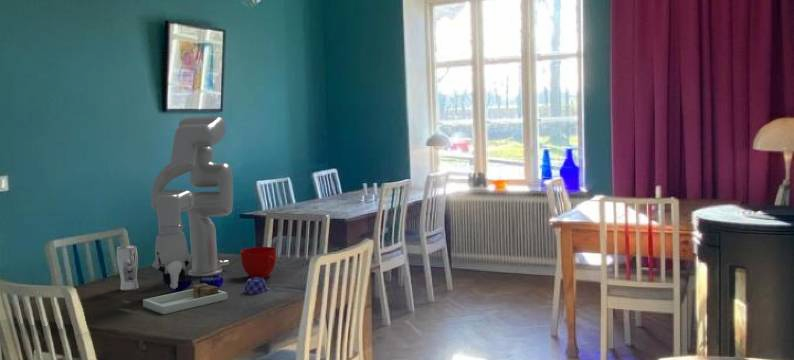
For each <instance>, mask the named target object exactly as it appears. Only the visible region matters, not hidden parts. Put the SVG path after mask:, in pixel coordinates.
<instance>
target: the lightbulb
mask: <svg viewBox="0 0 794 360" xmlns="http://www.w3.org/2000/svg"><path fill="white" fill-rule="evenodd" d="M163 268H165V266H163ZM181 269H182V263H181V262H180V261H173V262H172V263H171V264H168V265H167V271H168V273H169V274H170V282H171V284H170V285H169V287H170V288H171V289H172V290H176V288H178V286H179V279H178V278H179V273H180V271H181Z"/></svg>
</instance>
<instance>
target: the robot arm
mask: <svg viewBox="0 0 794 360" xmlns="http://www.w3.org/2000/svg"><path fill="white" fill-rule="evenodd" d="M225 133H226V123H225V121H224V118H222V117H220V116H192V117H191V116H190V117H185V118H183V119H181V120H180V121H179V122H178V128H176V130H175V132H174V138H173V143H172V148H171V149H172V151H171V154H170V155H171V156H170V161H169V162H168V164H167V165H166V166H165V167H164V168H162V170H161V171H160V172H159V173H158V174H157V175H156V177H155V178H154V181H153V184H152V190H151V195H150V205H151V207H152V209H153V210H154V211H156V214H157V225H158V226H157V227H158V235H156V238H155V248H154V249H155V250H154V251H155V252H154V253H155V255H154V257H155V259H154V261H153V263H152V264H151V266H152V267H153V268H154V269H157V270H158V271H160V273H162V280H163V283H164V284H165V285H166V286H167V285H168V286H170V284H171V282H170V274H169V273H168V271H167V265H168V264H171V263H172V262H173V261H180V262H181V263H182V269H181V271H180V273H179V278H178V282H179V281H180V282H185V278H186V272H185V271H186V269H187V267H188V265H189V264H190V263H191V269H190V270H188V276H191V277H199V278H200V277H211V276H215V275H219V274H222V272H223V268H222V267H223V266H228V265H229V264H230V261H229V259H224V260H222V259H221V260H220V259H218V249H217V248H218V247H217V231H216V229H217V228H216V226H215V224H214V222H213V221H212V219H211V218H210V217H227V216H229V215H231V213H232V212H233V207H234V203H233V202H234V181H233V180H234V179H233V178H234V177H233V170H232V168H231V166H230V165H229V164H228V163H226V162H214V157H213V155H214V154H213V149H212V147H214V146H217V144H218V143H219V141H220V142H221V140H222V139H223V137H224V135H225ZM187 173H189V180H190V182H189V183H190V184H191V186H192V187H193V188H195V189H211V188H212V189H218V190H217V191H216V190H214V191H194V192H192V191H190V190H188V189H167V190H166V187H167V186H168V184H169V183H170V182H172V181H173V180H175V179H176V178H178V177H181V176H183V175H185V174H187ZM182 212H183V213H184V212H187V217H188V225H189V236H190V238H189V240H190V253H189V249H188V248H189V247H188V244H187V243H188V242H187V238H186V235H185V232H184V231H183V230H184V229H186V224H184V223H182V214H181V213H182ZM159 264H161V265H159ZM163 266H165V268H163Z"/></svg>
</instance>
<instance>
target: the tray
mask: <svg viewBox="0 0 794 360" xmlns="http://www.w3.org/2000/svg"><path fill="white" fill-rule="evenodd" d="M228 297H229V296H228V292H226V291H223V290H220V289H218V294H215V295H210V296H206V297H201V298H195V297H194V294H193V288H191V289H187V290H181V291H176V292H173V293H168V294H163V295H158V296H154V297H149V298H145V299H144V298H143V299H142V305H143V308H145V309H149V310H151V311H153V312H156V313H159V314H162V315H167V314H171V313H175V312H179V311H184V310H189V309H192V308H197V307H201V306H206V305H209V304H215V303H219V302H223V301H227V300H228Z"/></svg>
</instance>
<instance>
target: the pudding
mask: <svg viewBox="0 0 794 360" xmlns="http://www.w3.org/2000/svg"><path fill="white" fill-rule="evenodd" d="M268 289H270V290H272V288H270V287H267V284H266V281H265V278H260V277H257V278H251V277H250V278H248V279H247V280H246V282H245V287H244V293H245V294H248V295H257V294H264V293H265V292H268Z"/></svg>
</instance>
